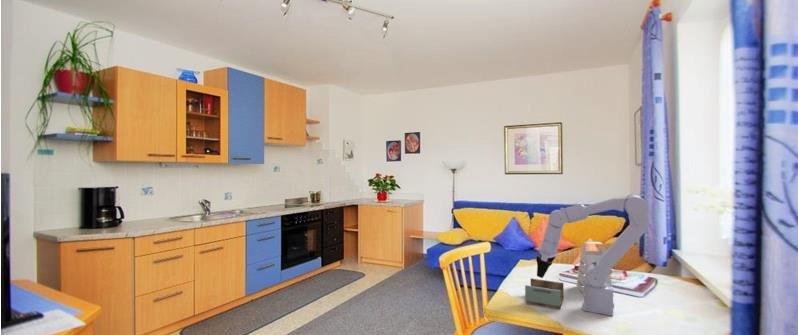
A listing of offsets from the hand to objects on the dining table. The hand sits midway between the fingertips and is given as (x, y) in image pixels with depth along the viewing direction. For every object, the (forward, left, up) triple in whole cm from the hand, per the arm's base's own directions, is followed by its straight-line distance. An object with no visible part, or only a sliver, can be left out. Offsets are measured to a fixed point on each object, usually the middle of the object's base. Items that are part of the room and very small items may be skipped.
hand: (541, 274), depth 139 cm
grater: (-17, -21, -11) cm, 29 cm away
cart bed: (-1, 0, -10) cm, 10 cm away
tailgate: (-1, +5, -9) cm, 10 cm away
